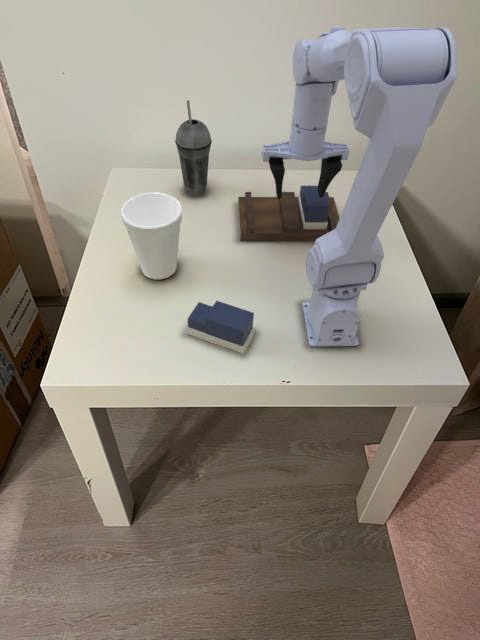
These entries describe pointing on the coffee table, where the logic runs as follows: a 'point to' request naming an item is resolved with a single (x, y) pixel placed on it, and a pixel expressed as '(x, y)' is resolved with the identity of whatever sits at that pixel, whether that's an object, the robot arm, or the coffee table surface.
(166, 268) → the cup
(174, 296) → the coffee table surface
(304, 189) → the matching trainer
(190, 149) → the beverage cup
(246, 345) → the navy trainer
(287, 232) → the slotted wooden tray
